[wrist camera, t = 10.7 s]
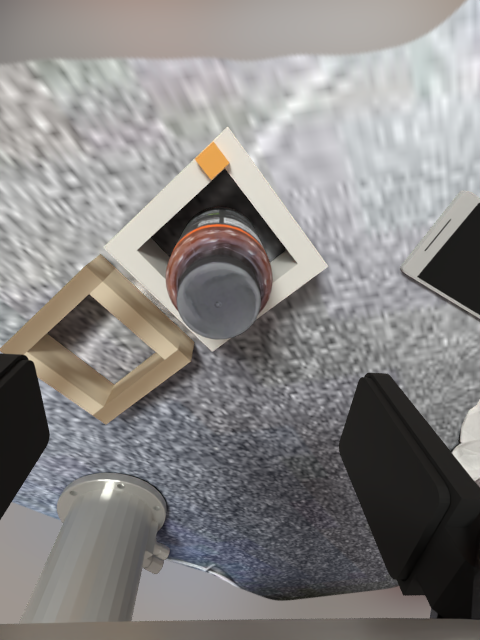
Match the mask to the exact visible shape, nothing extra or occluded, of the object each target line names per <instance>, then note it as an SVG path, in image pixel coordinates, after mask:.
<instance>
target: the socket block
mask: <svg viewBox="0 0 480 640" xmlns="http://www.w3.org/2000/svg"><path fill="white" fill-rule="evenodd" d="M224 169H226V170H227V172H228V173H229V174H230V176H231V177H232V178H233V180H234V181H235V182H236V183H237V185H238V186H239V187H240V189H241V190H242V191H243V193H244V194H245V195H246V197H247V198H248V199H249V201H250V202H251V203H252V204H253V206H254V207H255V208H256V210H257V211H258V212H259V214H260V215H261V216H262V218H263V219H264V220H265V221H266V223H267V224H268V225H269V227H270V228H271V229H272V231H273V232H274V233H275V235H276V236H277V237H278V238H279V240H280V241H281V242H282V244H283V245H284V246H285V248H286V249H287V250H285V251H284V252H283V253H282V254H280V255H279V256H278V257H276V258H275V259H274V260H273V261H271V262H270V265H271V269H272V278H273V283H272V289H271V294H270V297H269V300H268V302H267V304H266V306H265V307H264V309H263V310H262V311H261V312H260V313H259V314H258V316H257V319H258V318H259V317H260V316H262V315H263V314H264V313H266V312H267V311H268V310H270V309H271V308H273V307H274V306H275V305H277V304H278V303H279V302H281V301H282V300H283V299H285V298H286V297H287V296H289V295H290V294H292V293H293V292H294V291H296V290H297V289H298V288H300V287H301V286H302V285H304V284H305V283H306V282H308V281H309V280H311V279H312V278H313V277H315V276H316V275H317V274H319V273H320V272H321V271H323V270H324V269H325V268H327V267H328V265H327V264H326V263H325V261H324V260H323V258H322V257H321V256H320V254H319V253H318V251H317V250H316V249H315V247H314V246H313V244H312V243H311V242H310V240H309V239H308V237H307V236H306V235H305V233H304V232H303V231H302V229H301V228H300V226H299V225H298V224H297V222H296V221H295V219H294V218H293V217H292V215H291V214H290V212H289V211H288V210H287V208H286V207H285V205H284V204H283V203H282V201H281V200H280V199H279V197H278V196H277V194H276V193H275V192H274V190H273V189H272V187H271V186H270V185H269V183H268V182H267V180H266V179H265V178H264V176H263V175H262V173H261V172H260V171H259V169H258V168H257V167H256V165H255V164H254V162H253V161H252V160H251V158H250V157H249V155H248V154H247V153H246V151H245V150H244V148H243V147H242V146H241V144H240V143H239V141H238V140H237V139H236V137H235V136H234V134H233V133H232V132H231V130H230V129H229V128H228V127H227V128H226V129H225V130H224V131H223V132H222V133H221V134H219V135H218V136H217V137H216V138H215V139H214V140H213V141H212V142H211V143H210V144H209V145H208V146H207V147H206V148H205V149H204V150H203V151H202V152H201V153H200V154H199V155H198V156H197V157H196V158H195V159H194V160H193V161H192V162H191V163H190V164H189V165H188V166H187V167H186V168H185V169H183V170H182V171H181V172H180V173H179V174H178V175H177V176H176V177H175V178H174V179H173V180H172V181H171V182H170V183H169V184H168V185H167V186H166V187H165V188H164V189H163V190H162V191H161V192H160V193H159V194H158V195H157V196H156V197H155V198H154V199H153V200H152V201H151V202H150V203H148V204H147V205H146V206H145V207H144V208H143V209H142V210H141V211H140V212H139V213H138V214H137V215H136V216H135V217H134V218H133V219H132V220H131V221H130V222H129V223H128V224H127V225H126V226H125V227H124V228H123V229H122V230H121V231H120V232H119V233H118V234H117V235H116V236H115V237H113V238H112V239H111V240H110V241H109V242H108V243H107V244H106V245H105V246H104V247H103V248H104V249H105V250H106V251H107V252H108V253H109V254H111V255H112V256H113V257H114V258H115V259H116V260H117V261H118V262H119V263H120V264H121V265H122V266H123V267H124V268H125V269H126V270H127V271H128V272H129V273H130V274H131V275H133V276H134V277H135V278H136V279H137V280H138V281H139V282H140V283H141V284H142V285H143V286H144V287H145V288H146V289H147V290H148V291H149V292H150V293H151V294H152V295H153V296H155V297H156V298H157V299H158V300H159V301H160V302H161V303H162V304H163V305H164V306H165V307H166V308H167V309H168V310H169V311H170V312H171V313H172V314H173V315H174V316H175V317H177V318H178V319H179V320H180V321H181V322H182V323H183V324H184V325H185V326H186V327H187V328H188V329H189V330H190V331H191V332H192V333H193V334H194V335H195V336H196V337H197V338H198V339H200V340H201V341H202V342H203V343H204V344H205V345H206V346H207V347H208V348H209V349H210V350H211V351H212V352H213V351H214V350H215V349H217V348H218V347H220V346H221V345H222V344H224V343H225V342H226V341H228V340H229V339H230V338H228V339H219V340H216V339H210V338H206V337H203V336H201V335H198V334H197V333H195V332H194V331H192V330H191V329H190V328H189V327H188V326H187V325H186V324H185V323H184V322H183V320H182V318H181V317H180V314H179V312H178V311H177V310H176V308H175V307H174V305H173V304H172V302H171V300H170V298H169V295H168V291H167V288H166V269H167V265H168V262H169V259H170V257H169V256H168V255H167V254H166V253H165V252H164V251H163V250H162V249H161V248H160V247H159V246H158V245H157V244H156V243H155V242H154V240H153V239H152V238H151V236H153V235H154V234H155V233H156V232H157V231H158V230H159V229H160V228H161V227H162V226H163V225H164V224H165V223H167V222H168V221H169V220H170V219H171V218H172V217H173V216H174V215H175V214H176V213H177V212H178V211H179V210H181V209H182V208H183V207H184V206H185V205H186V204H187V203H188V202H189V201H190V200H191V199H192V198H193V197H195V196H196V195H197V194H198V193H199V192H200V191H201V190H202V189H203V188H204V187H205V186H206V185H207V184H209V183H210V182H211V181H212V180H213V179H214V178H215V177H216V176H217V175H218V174H219V173H220V172H221V171H223V170H224Z"/></svg>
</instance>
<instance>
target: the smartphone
mask: <svg viewBox="0 0 480 640" xmlns="http://www.w3.org/2000/svg"><path fill="white" fill-rule="evenodd" d="M400 269H401V271H402V272H404V273H405V274H407V275H408V276H410V277H411V278H413V279H415V280H416V281H418V282H420V283H421V284H423V285H425V286H426V287H428V288H430V289H431V290H433V291H435V292H436V293H438V294H440V295H441V296H443V297H445V298H446V299H448V300H449V301H451V302H453V303H454V304H456V305H458V306H459V307H461V308H463V309H464V310H466V311H468V312H469V313H471V314H473V315H474V316H476V317H478V318H479V319H480V198H479V197H478V196H476V195H475V194H474V193H472V192H469V191H460V192H459V193H458V195H457V196H456V197H455V198H454V200H453V201H452V202H451V203H450V205H449V206H448V207H447V208H446V210H445V211H444V212H443V213H442V215H441V216H440V217H439V218H438V220H437V221H436V222H435V223H434V225H433V226H432V227H431V229H430V230H429V231H428V232H427V234H426V235H425V236H424V237H423V239H422V240H421V241H420V242H419V244H418V245H417V246H416V247H415V249H414V250H413V251H412V252H411V254H410V255H409V256H408V257H407V259H406V260H405V261H404V262H403V264H402V265H401V267H400Z"/></svg>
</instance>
